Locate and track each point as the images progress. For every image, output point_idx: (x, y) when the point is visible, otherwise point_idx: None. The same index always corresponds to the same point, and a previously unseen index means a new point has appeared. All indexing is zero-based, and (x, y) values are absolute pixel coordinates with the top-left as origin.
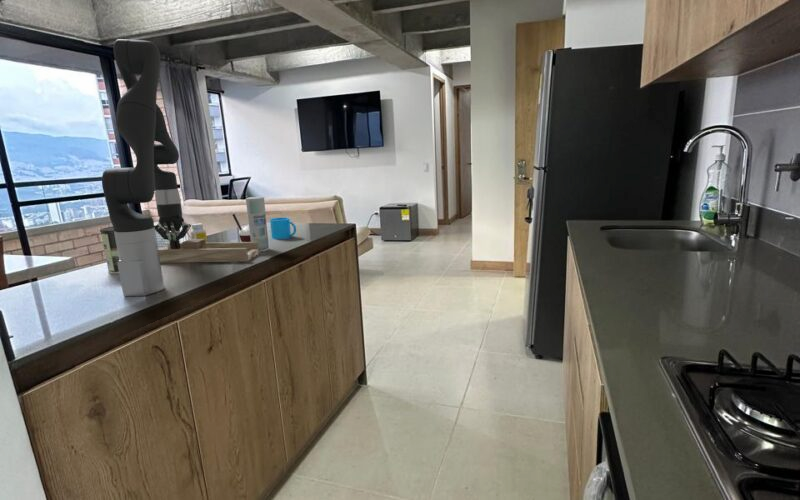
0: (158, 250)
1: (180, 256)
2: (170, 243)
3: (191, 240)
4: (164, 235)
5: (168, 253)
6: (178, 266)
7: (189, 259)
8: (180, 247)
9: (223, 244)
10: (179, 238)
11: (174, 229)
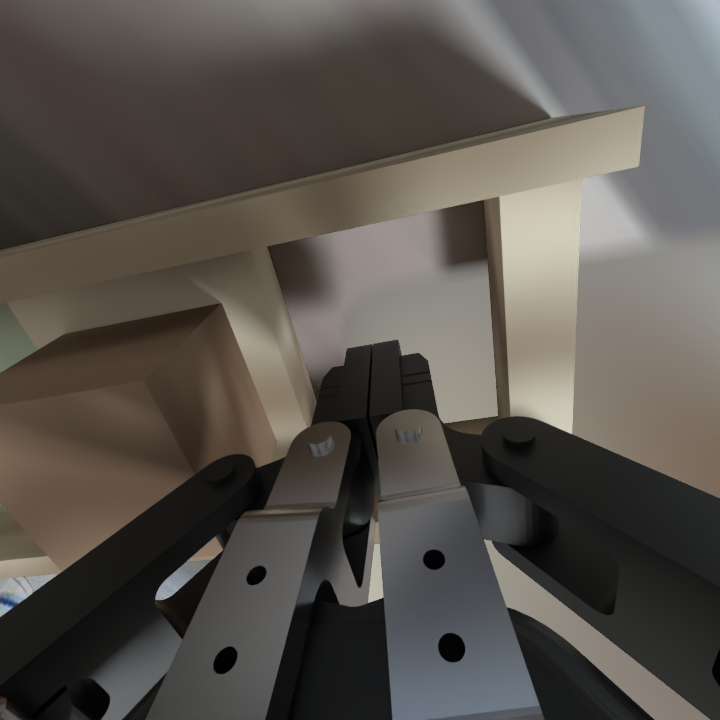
0: (470, 148)
1: (171, 211)
2: (423, 398)
3: (132, 491)
4: (531, 473)
5: (310, 180)
6: (55, 10)
7: (98, 227)
8: None
9: (8, 547)
10: (227, 462)
11: (189, 631)
